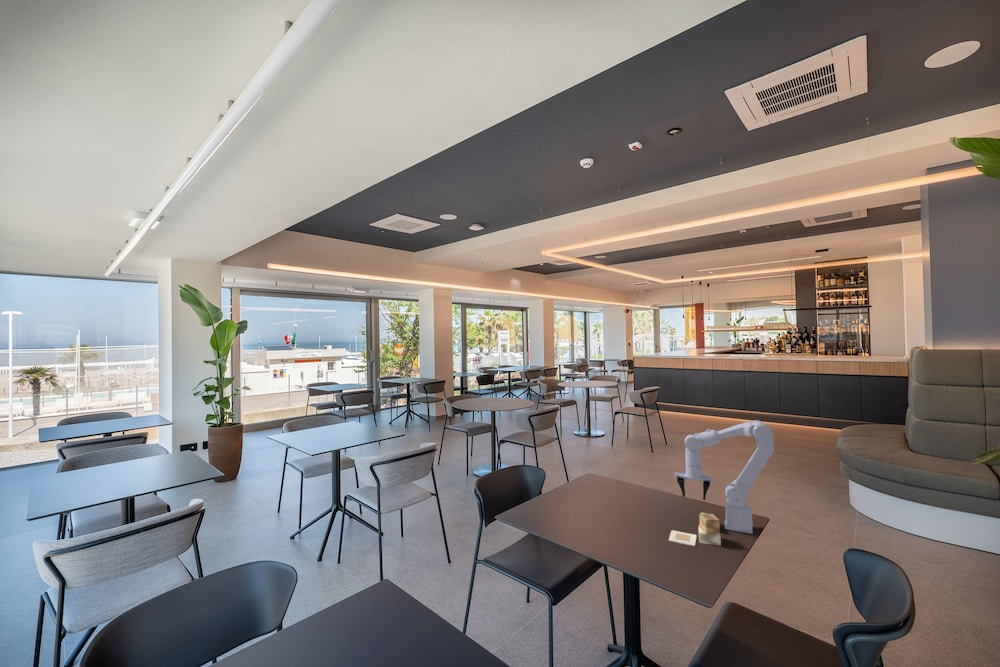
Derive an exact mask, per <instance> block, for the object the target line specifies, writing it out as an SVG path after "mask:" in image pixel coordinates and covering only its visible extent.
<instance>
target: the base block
mask: <svg viewBox="0 0 1000 667" xmlns="http://www.w3.org/2000/svg"><path fill="white" fill-rule="evenodd" d="M697 527H698V540H699V541H698V542H699V543H700V544H704V545H710V546H717V547H721V546H722V541H721V539H722V538H721V532H720V533H709V534H706V533H705V532H704V531H703V530H702V529H701V528H700V524H698V526H697Z"/></svg>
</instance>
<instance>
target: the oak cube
mask: <svg viewBox="0 0 1000 667" xmlns="http://www.w3.org/2000/svg"><path fill="white" fill-rule="evenodd" d="M698 517H699V519H698V520H699V525H700V528H701V529H702V530H703V531H704V532H705V533H706V534H709V533H720V534H721V530H720V529H721V528H720V527H721V526H720V525H721V524H720V519H719V518H718V517H717V516H714V515H713V513H709V514H701V513H700V514H699V515H698Z"/></svg>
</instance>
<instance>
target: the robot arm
mask: <svg viewBox="0 0 1000 667" xmlns="http://www.w3.org/2000/svg"><path fill="white" fill-rule="evenodd" d="M741 435H742V436H746V437H749V438H752V437H753V438H754V440H755V443H756V445H757V448H756V449H755V450H754V452H753V454H752V455H751V456H750V458H749V460H748V461H747V463H746V465H745V466H744V468H743V469H742V471H741V473H739V475H738V477H737V478H736V479H735V480H733V481H732V483H730V484H728V485H727V486H726V487H725V489H724V494H725V497H726V501H725V520H724V529H725V530H730V531H736V532H740V533H746V534H753V532H754V530H753V528H754V521H753V511H752V509H753V508H752V506H747V505H746V504H747V497H748V496H749V494H750V488H751V486H752V485H753V483H754V482H755V480H756V479H757V478H758V476H759V474H760V473H761V472H762V470H763V468H764V467H765V465H766V464H767V462H768V460H769V459H770V457H771V456H772V455H773V453H774V451H775V446H774V445H775V444H774V434H773V431H772V430H771V429H770V427H769V426H768V425H766V424H765V423H764V422H763V421H761V420H757V419H756V420H751V421H746V422H743V423H739V424H736V425H733V426H730V427H727V428H724V429H720V430H718V431H717V430H715V429H710V428H708V429H707V428H706V431H703V432H699V433H697V432H695V433H694V434H688V435H687V436H685V438H684V445H685V449H684V450H685V451H684V452H685V456H684V457H685V472H676V471H675V472H674V473H673V474H674V479H677V480H676V482H677V484H678V485H679V488H680V490H681V494H682V497H683V498H684V497H686V488H685V480H691V481H698V482H702V486H703V487H702V488H703V490H702V491H703V493H702V494H703V495H702V499H703V500H704V501H706V495H707V493H708V490H709V488H710V486H711V484H714V477H713V476H708V475H704V474H702V466H701V461H702V460H701V454H700V453H701V452H700V451H701V448H706V447H707V448H708V447H711V446H713V445H717V444H720V441H721V440H723V439H730V438H732V437H737V436H741Z"/></svg>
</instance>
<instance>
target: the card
mask: <svg viewBox="0 0 1000 667" xmlns="http://www.w3.org/2000/svg"><path fill="white" fill-rule="evenodd" d="M668 542H673V543H676V544H681V545H687V546H692V547H696V542H697V534H693V533H690V532H689V533H687V532H683V531H678V530H671V531H670V534H669V538H668Z"/></svg>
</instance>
